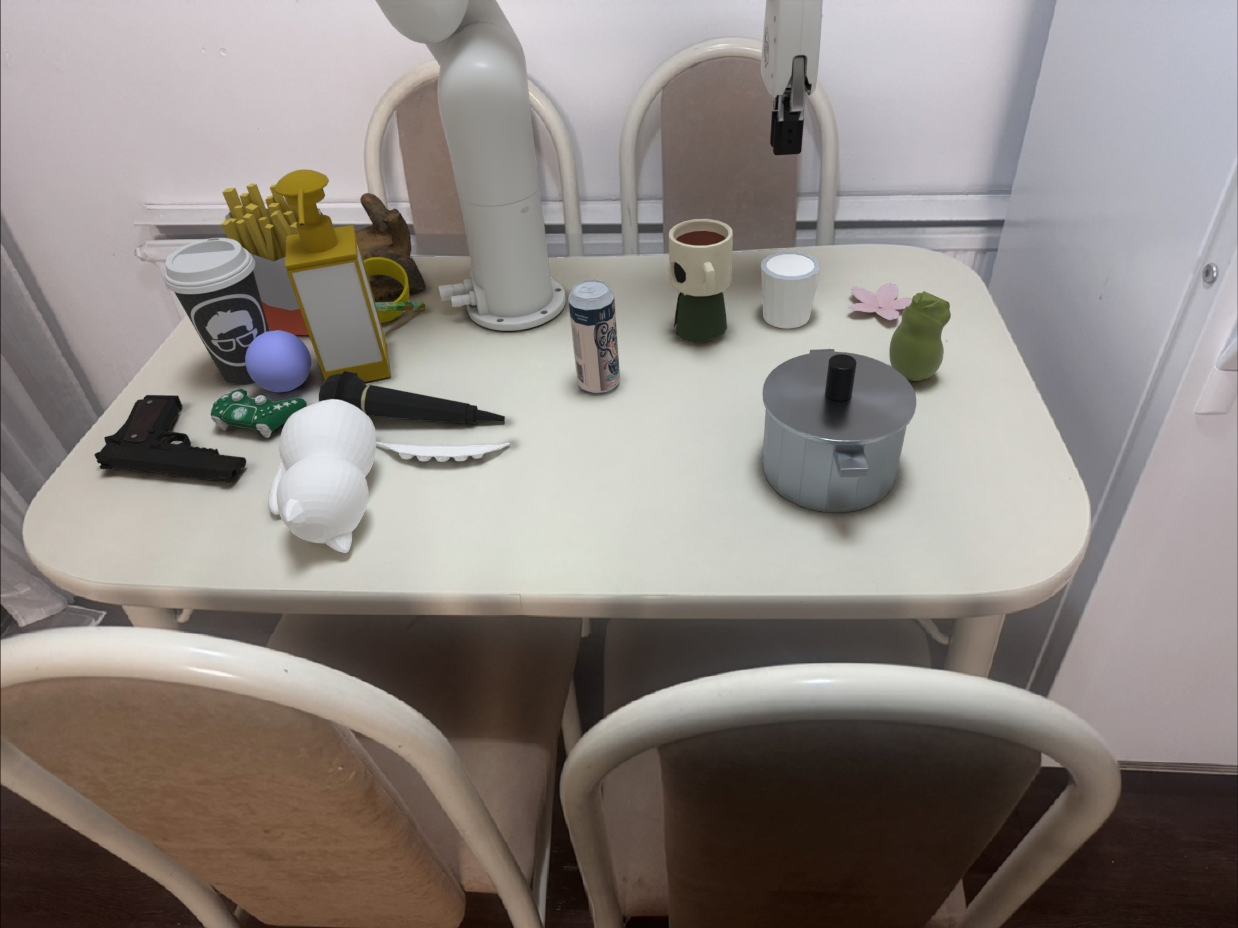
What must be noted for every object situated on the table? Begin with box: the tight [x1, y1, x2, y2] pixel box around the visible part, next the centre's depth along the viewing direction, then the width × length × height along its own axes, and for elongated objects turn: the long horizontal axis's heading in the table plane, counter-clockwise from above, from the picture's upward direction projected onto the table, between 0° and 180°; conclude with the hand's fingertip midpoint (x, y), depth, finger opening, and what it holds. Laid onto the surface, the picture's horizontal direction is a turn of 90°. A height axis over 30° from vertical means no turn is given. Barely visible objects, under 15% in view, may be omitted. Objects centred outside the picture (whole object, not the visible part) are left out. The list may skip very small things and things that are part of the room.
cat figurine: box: [267, 399, 377, 554], centre depth 82 cm, size 9×12×15 cm
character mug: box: [668, 218, 734, 344], centre depth 99 cm, size 11×7×13 cm, turn 8°
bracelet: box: [364, 257, 410, 324], centre depth 110 cm, size 7×8×3 cm
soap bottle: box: [274, 169, 392, 383], centre depth 92 cm, size 7×13×24 cm, turn 15°
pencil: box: [375, 301, 427, 312], centre depth 103 cm, size 1×1×18 cm
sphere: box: [245, 330, 312, 393], centre depth 98 cm, size 7×7×7 cm
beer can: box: [567, 279, 621, 394], centre depth 93 cm, size 5×5×12 cm
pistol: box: [93, 394, 247, 484], centre depth 92 cm, size 2×18×12 cm
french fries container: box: [220, 183, 322, 336], centre depth 104 cm, size 5×11×18 cm, turn 83°
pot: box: [762, 348, 908, 514], centre depth 82 cm, size 13×18×8 cm
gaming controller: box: [210, 388, 308, 439], centre depth 94 cm, size 9×4×6 cm
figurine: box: [321, 192, 426, 302], centre depth 118 cm, size 13×8×20 cm
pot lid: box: [761, 351, 917, 445], centre depth 78 cm, size 14×14×5 cm
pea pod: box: [376, 440, 511, 463], centre depth 89 cm, size 15×4×2 cm, turn 87°
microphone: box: [318, 371, 506, 425], centre depth 93 cm, size 6×6×20 cm
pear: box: [889, 290, 952, 382], centre depth 91 cm, size 6×5×10 cm
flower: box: [847, 282, 913, 321], centre depth 105 cm, size 10×10×2 cm
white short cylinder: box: [760, 251, 821, 330], centre depth 103 cm, size 7×7×7 cm
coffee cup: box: [163, 237, 270, 385], centre depth 99 cm, size 10×10×15 cm
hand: (785, 148), depth 101 cm, fingers closed
